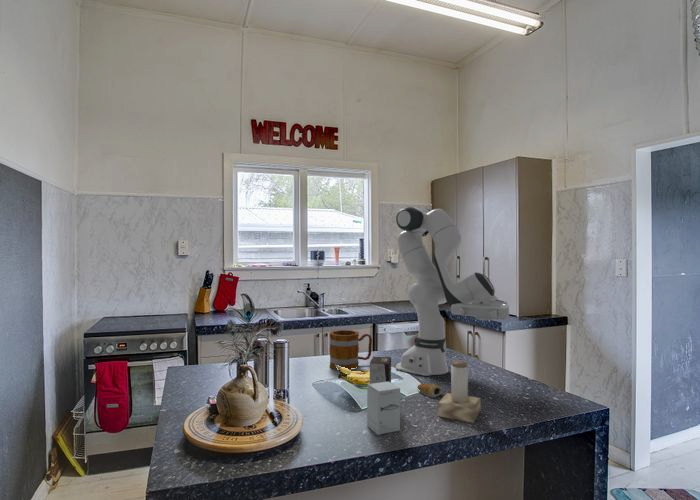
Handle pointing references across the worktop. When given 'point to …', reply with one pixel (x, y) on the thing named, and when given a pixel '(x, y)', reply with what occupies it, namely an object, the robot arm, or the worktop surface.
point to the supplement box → (383, 407)
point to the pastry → (430, 390)
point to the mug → (346, 348)
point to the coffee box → (380, 370)
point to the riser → (459, 408)
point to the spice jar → (459, 382)
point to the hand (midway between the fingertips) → (475, 313)
